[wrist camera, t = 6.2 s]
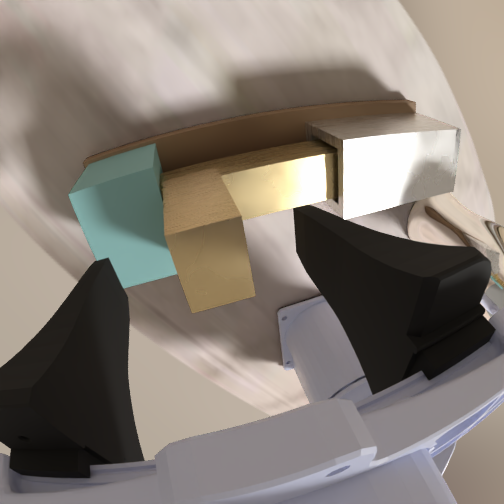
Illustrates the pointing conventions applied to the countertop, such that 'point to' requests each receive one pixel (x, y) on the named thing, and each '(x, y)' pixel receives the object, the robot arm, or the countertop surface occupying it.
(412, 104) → the board
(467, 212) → the beer glass
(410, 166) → the white rectangular block
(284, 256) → the countertop surface
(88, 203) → the teal rectangular block
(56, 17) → the countertop surface
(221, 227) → the wooden l-shaped block
